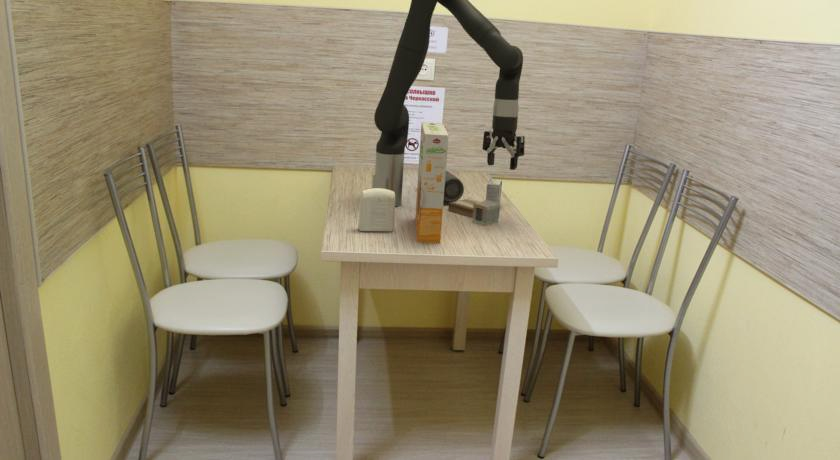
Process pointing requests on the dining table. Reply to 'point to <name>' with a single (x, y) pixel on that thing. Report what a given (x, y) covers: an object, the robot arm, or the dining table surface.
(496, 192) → the medicine box
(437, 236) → the cereal box
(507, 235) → the dining table surface
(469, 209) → the walnut frame
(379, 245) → the dining table surface
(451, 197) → the bluetooth speaker
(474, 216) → the steel housing
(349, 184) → the dining table surface
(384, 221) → the beige upright block
